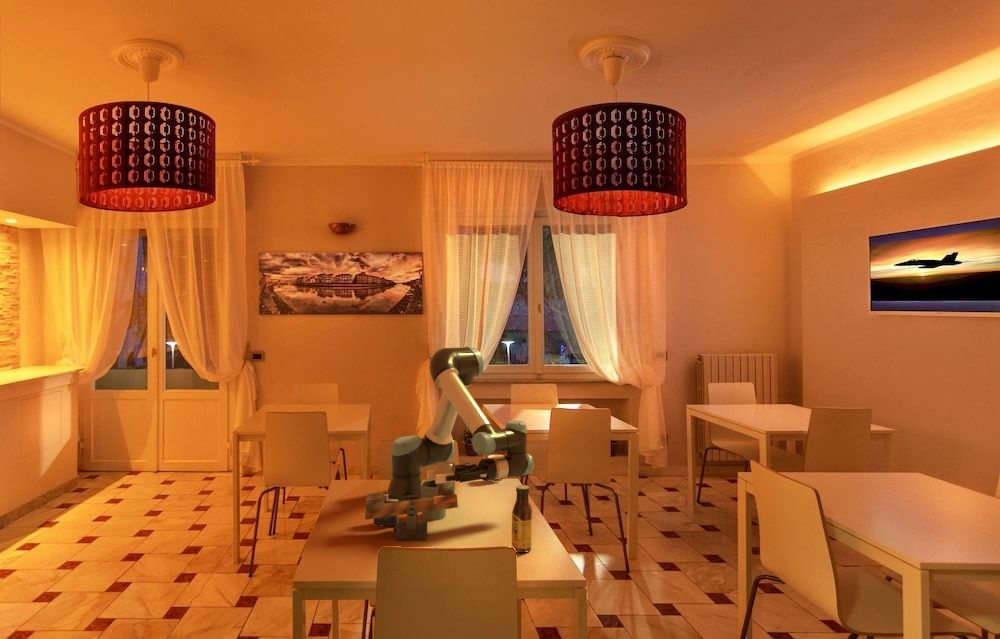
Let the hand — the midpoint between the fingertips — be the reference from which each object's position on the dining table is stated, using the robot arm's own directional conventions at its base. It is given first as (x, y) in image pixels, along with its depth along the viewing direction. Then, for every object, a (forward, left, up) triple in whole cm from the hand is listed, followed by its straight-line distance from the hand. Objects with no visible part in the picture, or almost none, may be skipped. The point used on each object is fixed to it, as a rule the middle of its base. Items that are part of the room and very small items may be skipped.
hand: (431, 477), depth 198 cm
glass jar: (+3, +4, -6) cm, 8 cm away
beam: (-6, -2, -11) cm, 13 cm away
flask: (-19, 0, -19) cm, 27 cm away
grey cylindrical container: (-10, +16, -19) cm, 27 cm away
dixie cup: (-14, +68, -19) cm, 72 cm away
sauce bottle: (+32, +4, -19) cm, 37 cm away
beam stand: (-6, -2, -19) cm, 20 cm away
